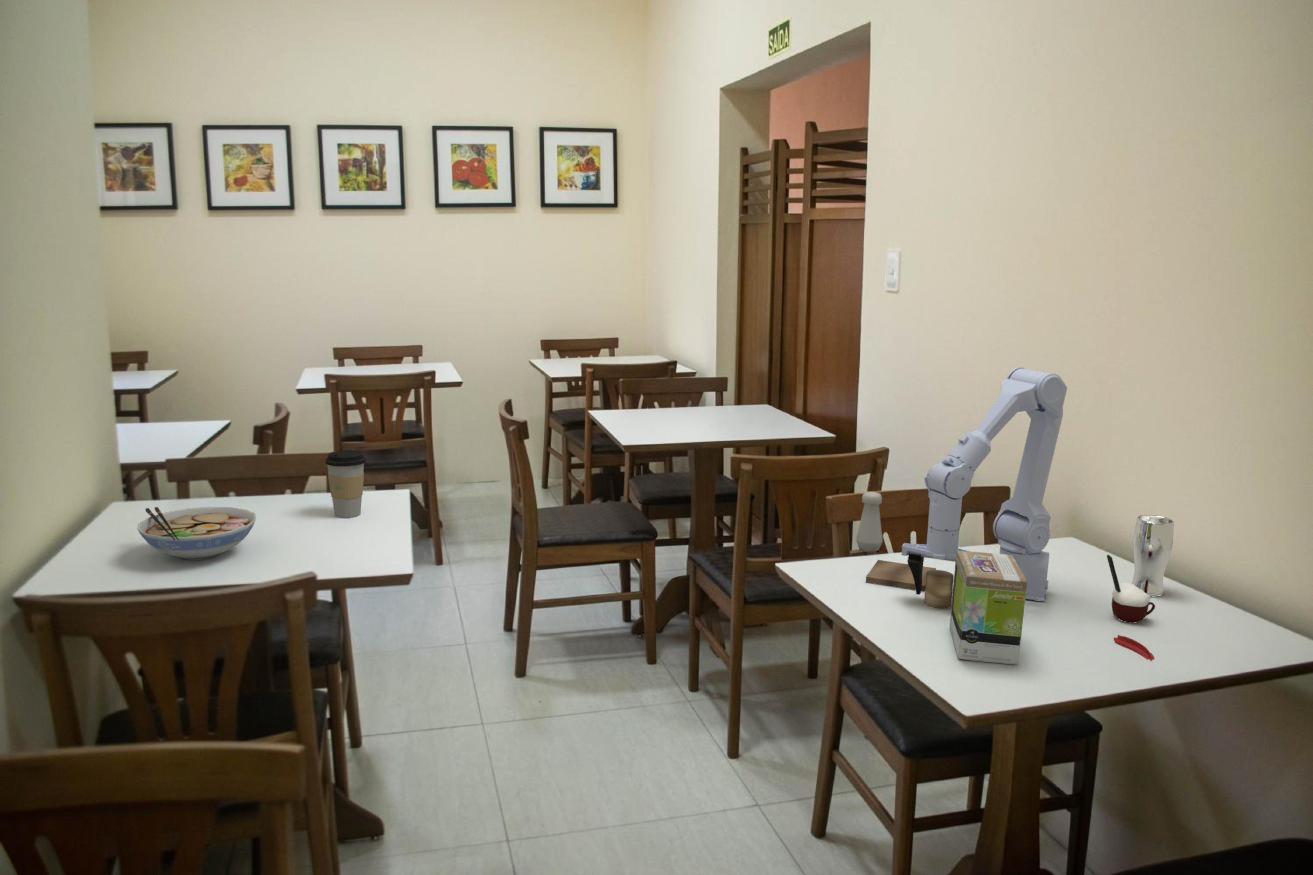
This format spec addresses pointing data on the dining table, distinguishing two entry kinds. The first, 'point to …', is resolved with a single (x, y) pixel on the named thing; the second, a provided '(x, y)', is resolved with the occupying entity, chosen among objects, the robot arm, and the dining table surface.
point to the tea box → (987, 607)
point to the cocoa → (1128, 599)
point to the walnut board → (895, 575)
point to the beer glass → (1151, 552)
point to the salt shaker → (870, 523)
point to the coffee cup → (346, 481)
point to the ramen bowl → (196, 530)
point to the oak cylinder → (938, 589)
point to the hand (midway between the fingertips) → (938, 595)
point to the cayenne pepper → (1134, 646)
